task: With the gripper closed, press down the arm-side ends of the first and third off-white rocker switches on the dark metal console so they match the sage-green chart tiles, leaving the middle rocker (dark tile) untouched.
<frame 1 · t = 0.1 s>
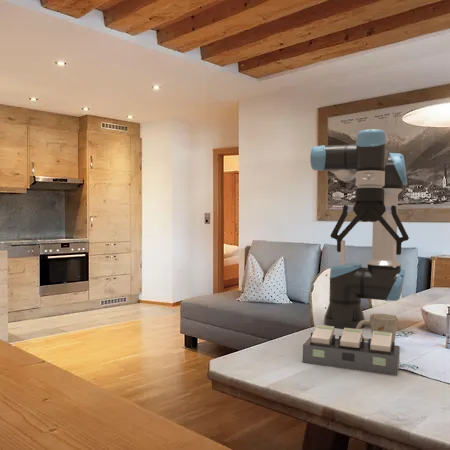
hand: (368, 265, 126), 28 cm above the table, fingers open, 13 cm apart
console: (350, 362, 130), on the table
rocker c: (381, 340, 127), point 7 cm above the table, hinge at 14.0°
mug: (376, 347, 147), on the table
rocker a: (322, 333, 133), point 7 cm above the table, hinge at 14.0°
rocker b: (351, 337, 130), point 7 cm above the table, hinge at 14.0°
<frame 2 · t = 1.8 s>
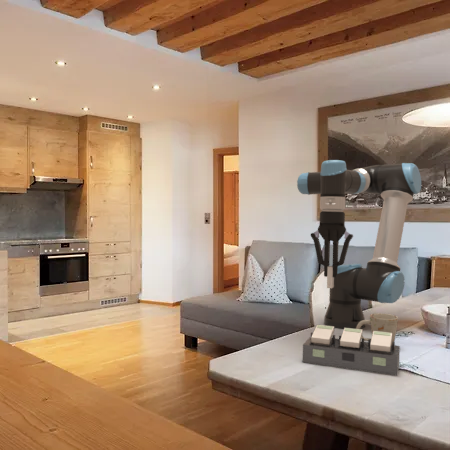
hand: (330, 287, 143), 19 cm above the table, fingers closed
nothing on the table moved.
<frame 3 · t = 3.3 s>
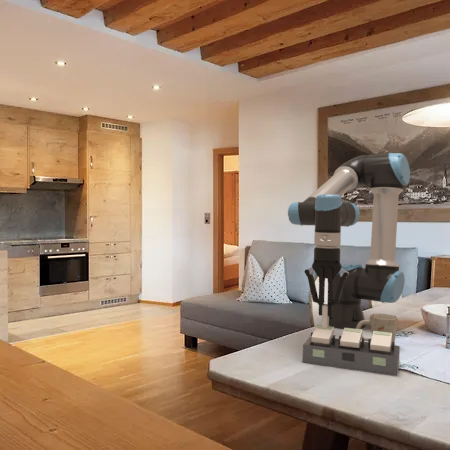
hand: (325, 326, 136), 9 cm above the table, fingers closed
rocker a: (323, 333, 133), point 7 cm above the table, hinge at 12.2°, touching gripper
everything else where it was.
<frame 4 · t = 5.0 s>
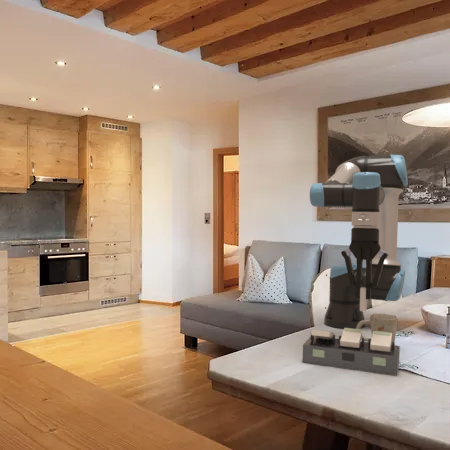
hand: (363, 310, 131), 15 cm above the table, fingers closed
rocker a: (323, 333, 133), point 7 cm above the table, hinge at -16.5°
everything else where it was.
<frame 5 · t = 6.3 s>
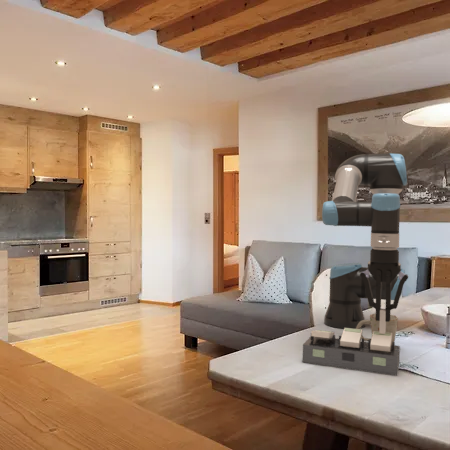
hand: (382, 332, 130), 9 cm above the table, fingers closed
rocker c: (381, 340, 127), point 7 cm above the table, hinge at 13.5°, touching gripper
rocker a: (323, 333, 133), point 7 cm above the table, hinge at -12.2°
everything else where it was.
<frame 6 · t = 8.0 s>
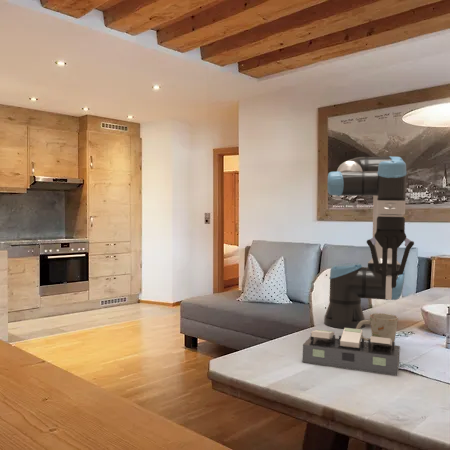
hand: (388, 298, 132), 18 cm above the table, fingers closed
rocker c: (381, 340, 127), point 7 cm above the table, hinge at -17.1°
rocker a: (323, 333, 133), point 7 cm above the table, hinge at -10.4°
everything else where it was.
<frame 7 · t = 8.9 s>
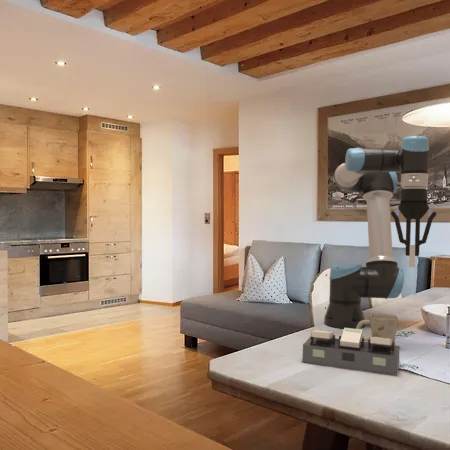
hand: (412, 266, 139), 26 cm above the table, fingers closed
rocker c: (381, 340, 127), point 7 cm above the table, hinge at -13.5°
rocker a: (323, 333, 133), point 7 cm above the table, hinge at -10.1°
everything else where it was.
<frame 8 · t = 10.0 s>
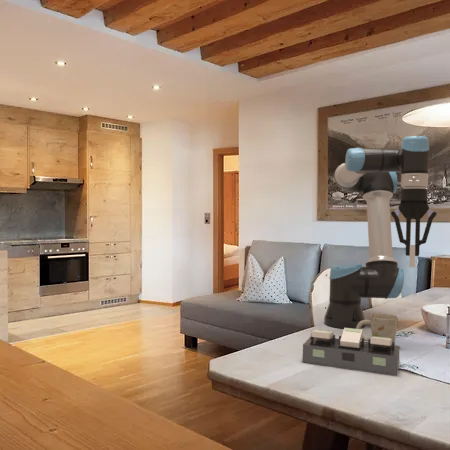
hand: (412, 266, 139), 26 cm above the table, fingers closed
rocker c: (381, 340, 127), point 7 cm above the table, hinge at -11.4°
everything else where it was.
at the end: rocker a at -10° (first picture: +14°); rocker c at -11° (first picture: +14°); rocker b at +14° (first picture: +14°) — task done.
